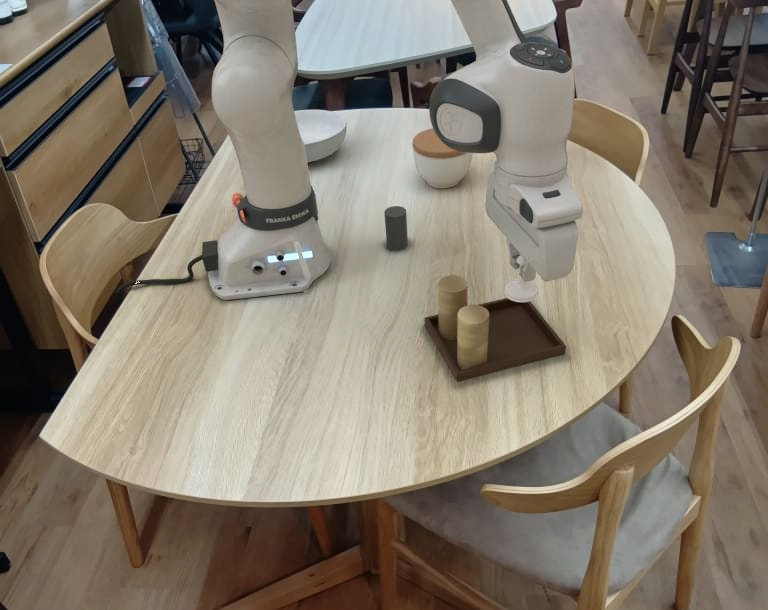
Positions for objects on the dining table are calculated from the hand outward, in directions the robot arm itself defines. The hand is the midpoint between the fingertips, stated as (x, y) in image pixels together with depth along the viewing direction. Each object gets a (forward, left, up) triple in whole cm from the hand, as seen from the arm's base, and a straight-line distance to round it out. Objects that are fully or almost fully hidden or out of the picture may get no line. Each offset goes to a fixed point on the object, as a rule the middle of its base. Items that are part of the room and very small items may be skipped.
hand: (522, 272), depth 96 cm
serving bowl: (-17, +80, -12) cm, 83 cm away
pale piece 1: (-9, +4, -11) cm, 15 cm away
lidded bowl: (+8, +54, -12) cm, 56 cm away
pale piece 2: (-9, -4, -11) cm, 15 cm away
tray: (-4, 0, -12) cm, 13 cm away
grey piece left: (-9, +33, -12) cm, 36 cm away
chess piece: (0, 0, -4) cm, 4 cm away
